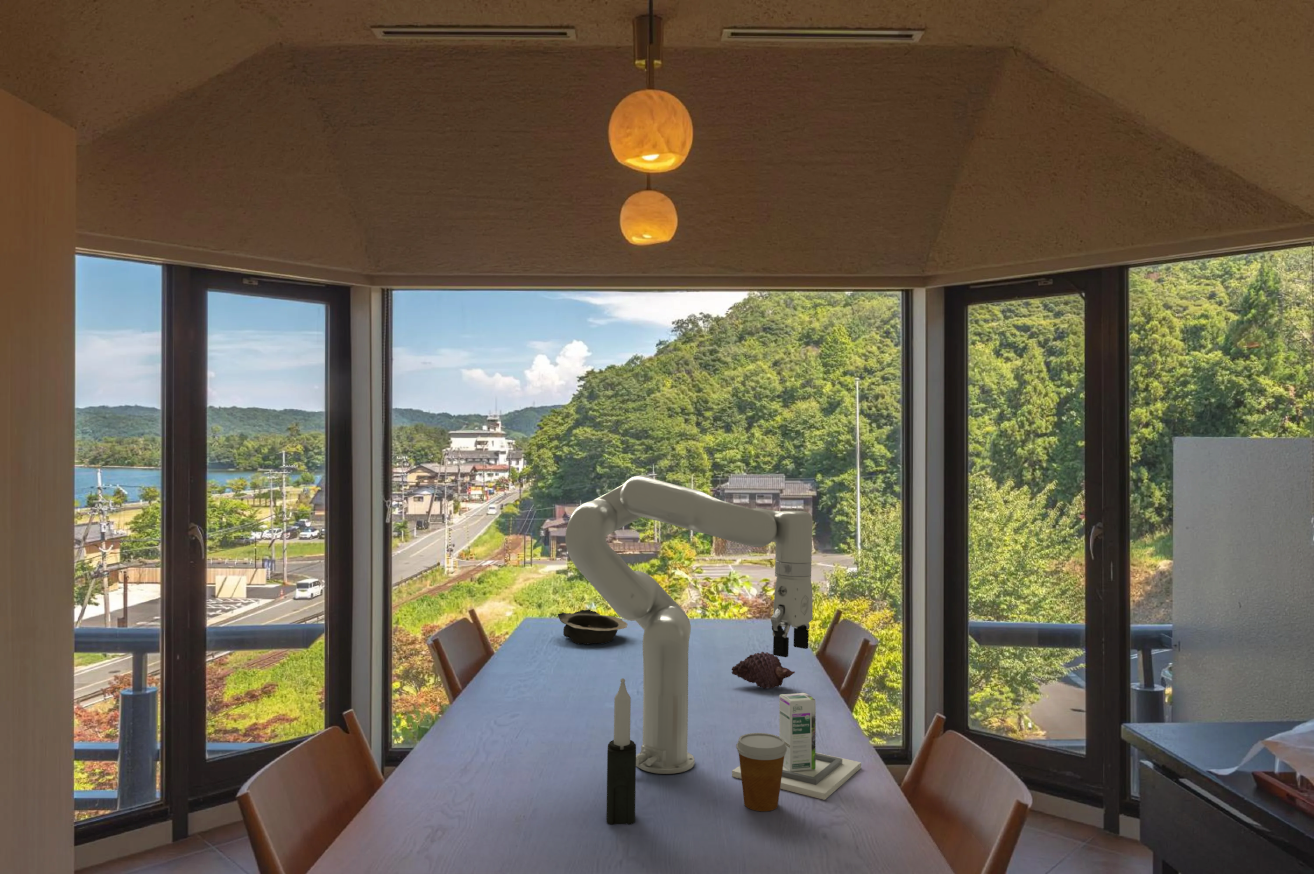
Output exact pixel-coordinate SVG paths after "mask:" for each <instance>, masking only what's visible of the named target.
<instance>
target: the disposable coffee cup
mask: <svg viewBox="0 0 1314 874" xmlns="http://www.w3.org/2000/svg"><path fill="white" fill-rule="evenodd" d="M735 747H736V750H737V753H738V757H739V758H738V759H739V766H740V769H741V778H742V779H741V786H742V787H741V788H742V794H743V804H744V807H746V808H748V809H750V810H752V811H755V812H756V811H757V812H770V811H774V810H775V809H777V808H778V807H779V805H778V804H779V799H780V791H781V789H780V786H781V777H782V770H783V763H784V755H785V754H786V751H787V747H786V746H785V741H784V739H782V738H781V737H779V736H778V735H776V734H772V733H767V732H749V733H745V734H743V735H740V736H739V737H738V742H737V743H736V746H735Z"/></svg>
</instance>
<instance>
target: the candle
mask: <svg viewBox="0 0 1314 874" xmlns="http://www.w3.org/2000/svg"><path fill="white" fill-rule="evenodd" d="M625 682H626V679H625V678H621V679H620V685H619V687H618V690H617V693H616V694H615V696H614V700H613V702H614V706H613V707H614V709H613V711H614V715H613V739H612V740H610V741H609V743H608V744H607V753H606V754H607V759H606V761H607V762H606V814H605V815H606V816H605V817H606V819H605V820H606V821H605V822H606V823H607V824H609V825H634V824H635V822H636V781H637V779H636V777H637V775H636V773H637V771H636V770H637V766H636V755H637V744H636V743H635V741H633V740H631V703H632V699H631V695H630V694H629V692H628V690H627V686H626V683H625Z"/></svg>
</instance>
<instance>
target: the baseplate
mask: <svg viewBox="0 0 1314 874" xmlns="http://www.w3.org/2000/svg"><path fill="white" fill-rule="evenodd" d="M815 754H816V768H815V770H803V771H794V772H790V771H789V770H787V769H786V768H785V767H784V766H783V770H782V777H781V786H780V790H784V791H788V792H793V793H794V794H795V793H796V794H800V795H804V796H808V797H810V798H811V797H812V798H816V799H820V800H824V801H825V800H827V798H829V797H830V796H831V795H832V794H833V793H834V792H836V790H838V789H839V788H840V787H841V786H843V784H845V783H846V782H847V781H848V780H849V779H850V778H852V777H853V776H854V775H856V773H857V772H858V771H860V770H861V769H862V762H861V761H856V760H854V759H853V760H852V759H847V758H843V757H839V756H838V757H837V756H833V755H828V754H825V753H820V752H816V753H815ZM731 777H732V778H737V779H740V780H742V778H741V769H740V765H738V766H737V767H735V768H734V769H732V770H731Z"/></svg>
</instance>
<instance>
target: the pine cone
mask: <svg viewBox="0 0 1314 874" xmlns="http://www.w3.org/2000/svg"><path fill="white" fill-rule="evenodd" d="M778 657H779V656H775V655H773V653H769V652H764V651H761V652H760V653H759V652H756V653H753V654H749V656H746V658H744V660H740V661H739V662H738V663H736V664H735V665H734V666H732V667H731V674H732V675H733V676H737V677H738V678H741V679H742V680H744V681H746V682H748V683H751V684H756V686H757V687H759V688H762V689H771V690H772V689H774V688H776V687H777V688H778V687H781V686H783V682H784V679H787V678H790V677H791V676H792V675H793V674H794V675H795V673H796V671H792V670H790V669H789V668H787V667H784V666H782V663H781V662H780V659H779V658H778Z"/></svg>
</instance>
